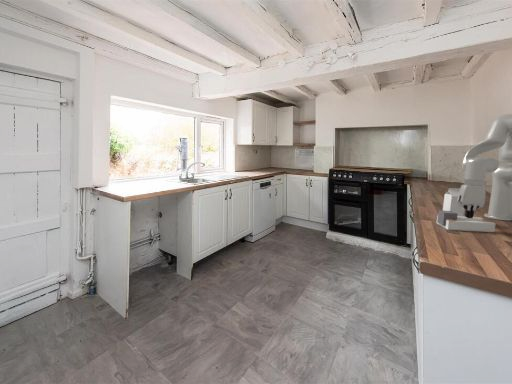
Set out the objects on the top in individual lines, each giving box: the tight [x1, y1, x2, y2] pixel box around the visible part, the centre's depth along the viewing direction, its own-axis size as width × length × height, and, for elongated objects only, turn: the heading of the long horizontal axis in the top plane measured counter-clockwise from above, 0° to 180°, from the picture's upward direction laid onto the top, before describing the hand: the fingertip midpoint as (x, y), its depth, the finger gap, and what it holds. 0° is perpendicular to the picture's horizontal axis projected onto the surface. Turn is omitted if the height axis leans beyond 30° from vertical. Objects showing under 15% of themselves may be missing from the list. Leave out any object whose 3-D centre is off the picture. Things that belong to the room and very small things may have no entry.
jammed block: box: [436, 210, 458, 226], centre depth 127 cm, size 6×6×7 cm
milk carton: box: [442, 187, 466, 217], centre depth 136 cm, size 7×7×19 cm
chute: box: [436, 214, 496, 233], centre depth 125 cm, size 20×12×5 cm, turn 77°
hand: (468, 217), depth 124 cm, fingers closed
